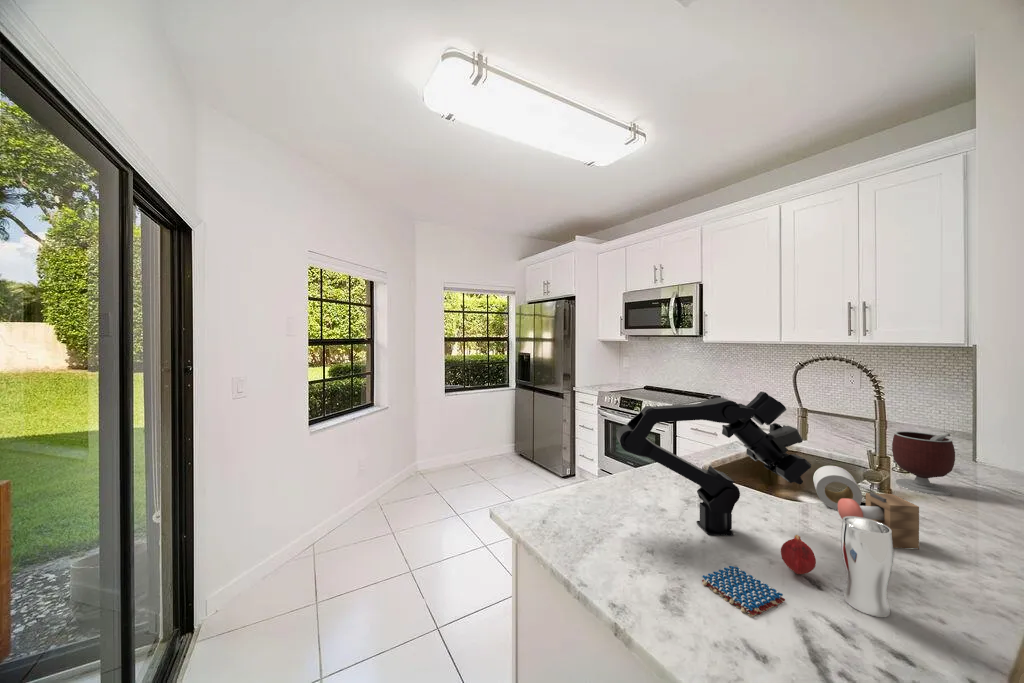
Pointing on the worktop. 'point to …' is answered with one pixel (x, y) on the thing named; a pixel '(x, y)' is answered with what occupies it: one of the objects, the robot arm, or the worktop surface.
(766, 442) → the robot arm
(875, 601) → the beer glass
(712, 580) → the woven mat
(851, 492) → the toilet paper
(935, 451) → the mate gourd
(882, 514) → the knob
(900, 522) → the catch block
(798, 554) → the onion
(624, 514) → the worktop surface
